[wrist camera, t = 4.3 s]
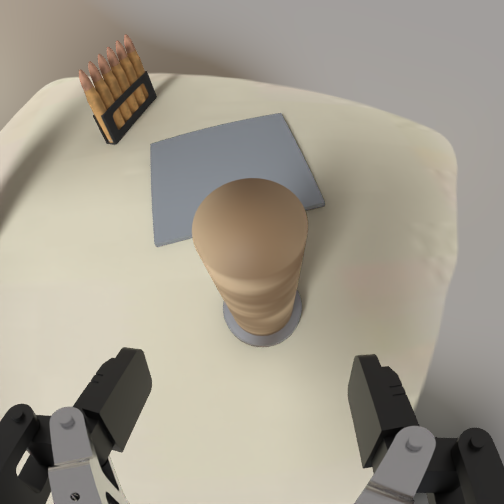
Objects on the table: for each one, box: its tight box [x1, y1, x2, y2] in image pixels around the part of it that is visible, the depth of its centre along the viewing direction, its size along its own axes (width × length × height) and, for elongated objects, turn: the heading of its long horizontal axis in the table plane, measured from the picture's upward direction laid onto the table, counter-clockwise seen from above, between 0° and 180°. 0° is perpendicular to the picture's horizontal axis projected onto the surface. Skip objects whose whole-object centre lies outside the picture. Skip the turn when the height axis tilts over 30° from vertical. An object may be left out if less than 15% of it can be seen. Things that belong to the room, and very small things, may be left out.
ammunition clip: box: [79, 34, 157, 144], centre depth 31 cm, size 11×2×12 cm, turn 160°
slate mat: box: [151, 113, 325, 247], centre depth 30 cm, size 16×14×1 cm
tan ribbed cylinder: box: [192, 178, 308, 347], centre depth 17 cm, size 6×6×13 cm
